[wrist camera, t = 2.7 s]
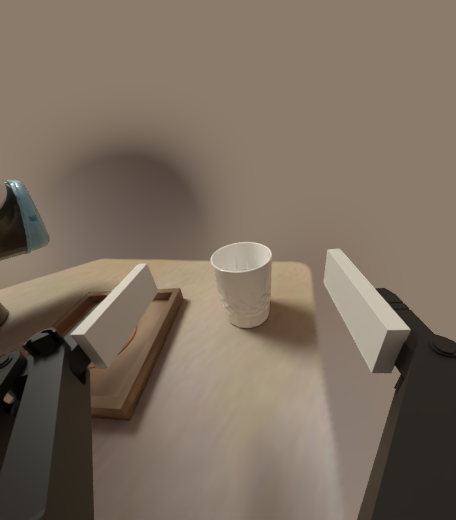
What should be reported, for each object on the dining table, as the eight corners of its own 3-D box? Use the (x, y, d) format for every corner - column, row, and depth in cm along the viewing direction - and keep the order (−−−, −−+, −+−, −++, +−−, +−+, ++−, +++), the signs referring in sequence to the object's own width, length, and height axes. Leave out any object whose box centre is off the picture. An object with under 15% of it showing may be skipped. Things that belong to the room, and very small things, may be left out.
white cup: (246, 342, 25) (238, 280, 20) (212, 312, 31) (199, 258, 26) (284, 310, 29) (285, 251, 24) (247, 288, 35) (242, 237, 30)
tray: (-13, 410, 22) (-29, 400, 21) (94, 301, 38) (89, 292, 36) (129, 420, 19) (120, 409, 18) (183, 298, 35) (180, 288, 34)
